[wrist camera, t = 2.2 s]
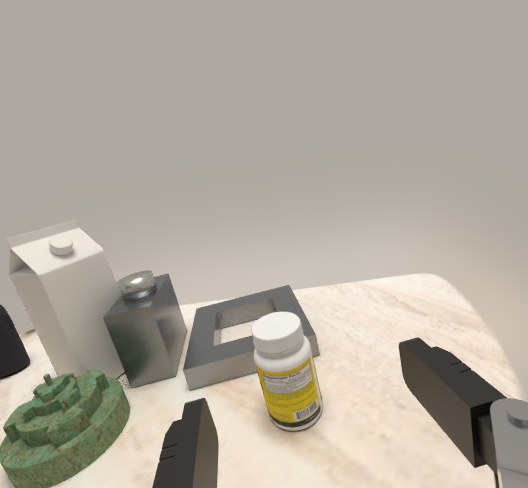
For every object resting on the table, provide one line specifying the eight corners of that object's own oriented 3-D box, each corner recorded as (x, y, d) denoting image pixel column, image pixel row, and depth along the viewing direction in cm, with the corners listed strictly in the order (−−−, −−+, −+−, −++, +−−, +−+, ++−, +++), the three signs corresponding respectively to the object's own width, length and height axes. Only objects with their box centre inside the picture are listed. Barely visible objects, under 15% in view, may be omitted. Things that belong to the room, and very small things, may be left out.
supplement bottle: (279, 385, 29) (260, 308, 27) (328, 390, 27) (311, 308, 25) (260, 428, 25) (236, 341, 23) (316, 438, 23) (295, 343, 21)
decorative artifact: (151, 406, 31) (93, 388, 35) (127, 347, 29) (70, 337, 34) (48, 511, 22) (-9, 470, 27) (6, 438, 20) (-47, 408, 25)
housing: (122, 408, 31) (82, 313, 28) (154, 335, 44) (129, 266, 41) (319, 355, 32) (300, 258, 29) (292, 299, 46) (277, 230, 43)
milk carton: (61, 385, 37) (-8, 240, 32) (112, 350, 43) (60, 222, 38) (94, 398, 34) (21, 236, 29) (144, 357, 39) (91, 216, 34)
